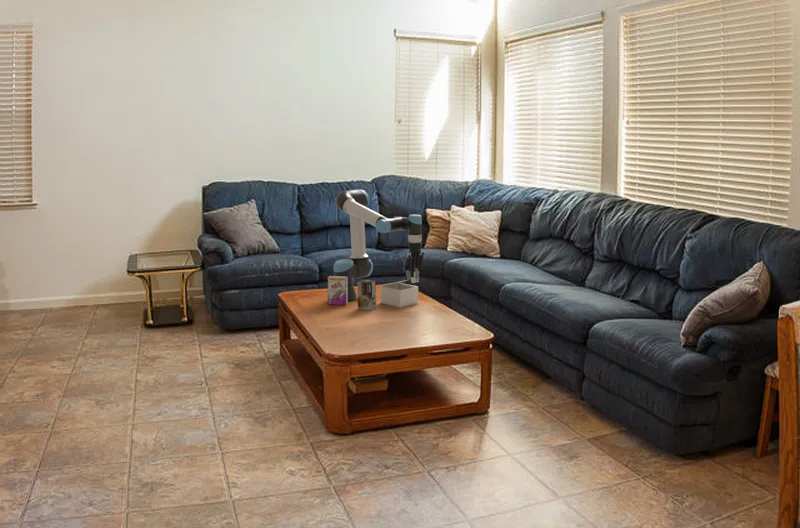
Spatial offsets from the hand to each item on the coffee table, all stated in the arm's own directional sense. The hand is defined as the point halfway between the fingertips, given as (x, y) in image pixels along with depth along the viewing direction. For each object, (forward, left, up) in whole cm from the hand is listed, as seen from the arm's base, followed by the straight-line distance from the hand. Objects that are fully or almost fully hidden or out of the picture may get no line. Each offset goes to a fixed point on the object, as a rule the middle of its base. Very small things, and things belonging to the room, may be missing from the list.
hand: (414, 282), depth 446 cm
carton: (-12, 0, -14) cm, 19 cm away
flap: (-9, 0, -1) cm, 9 cm away
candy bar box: (-36, -27, -15) cm, 48 cm away
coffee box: (-16, -23, -15) cm, 31 cm away
